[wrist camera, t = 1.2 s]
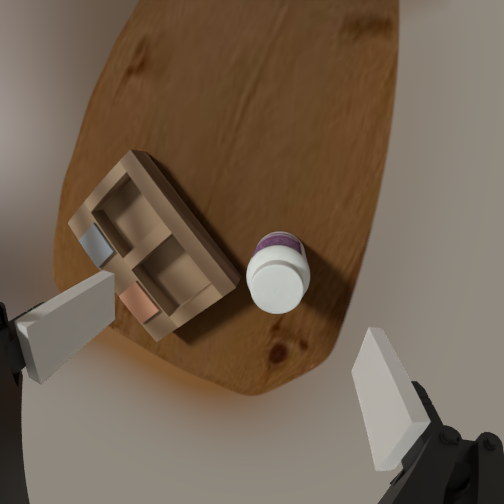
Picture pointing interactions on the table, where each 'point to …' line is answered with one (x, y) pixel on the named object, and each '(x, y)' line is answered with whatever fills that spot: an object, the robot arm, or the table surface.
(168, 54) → the table surface
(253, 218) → the table surface
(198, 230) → the socket block
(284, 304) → the pill bottle
